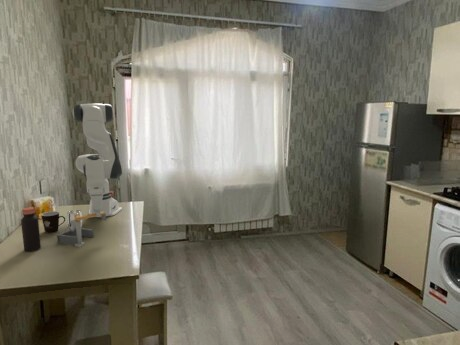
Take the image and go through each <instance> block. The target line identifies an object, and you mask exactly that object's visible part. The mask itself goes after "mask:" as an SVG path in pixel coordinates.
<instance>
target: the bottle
mask: <svg viewBox="0 0 460 345" xmlns="http://www.w3.org/2000/svg"><path fill="white" fill-rule="evenodd" d="M21 211H22V216H23V217H22V218H21V219H20V222H21V233H22V241H23V242H22V243H23V251H24V252H27V253H28V252H29V253H30V252H31V253H32V252H36V251H38V250H40V249H41V248H42V244H41V236H40V225H39V224H40V223H39V218H38V216H36V209H35V207H33V206H29V207H23V208H22V209H21Z"/></svg>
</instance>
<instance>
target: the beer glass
mask: <svg viewBox="0 0 460 345" xmlns="http://www.w3.org/2000/svg"><path fill="white" fill-rule="evenodd" d="M77 216H80V217H81V216H83V213H82V210H80V209H72V210H68V211H67V212H66V223H67V227H68V230H69V231H70V236H77V230H76V221H75V217H77ZM80 222H81V235H82V228H83V220H81V221H80ZM83 239H84V237H83V236H82V240H83Z"/></svg>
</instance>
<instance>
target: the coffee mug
mask: <svg viewBox="0 0 460 345" xmlns="http://www.w3.org/2000/svg"><path fill="white" fill-rule="evenodd" d="M40 217H41V220H42V224H43V228H44V233H45V234H54V233H56V232H58V231H59V227H60V226H61V225H63V224H64V223H65V221H66V217H65V216H64V215H60V211H58V210H57V211H56V210H55V211H54V210H53V211H46V212H45V211H44V212H43V213H41V214H40ZM60 218H63V221H62V222H61V223H60Z"/></svg>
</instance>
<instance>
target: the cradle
mask: <svg viewBox="0 0 460 345" xmlns="http://www.w3.org/2000/svg"><path fill="white" fill-rule="evenodd" d="M76 230H77V236H70V231H69V229H68V230H65V231H63V232H61V233H59V234H57V235H56V237H57V238H56V239H57V244H64V245H71V246H72V245H73V246H74V247H81V248H82V246H84V245H86V242H84V241H83V239H82V237H83V238H84V237H86V238H94V237H95V230H94V229H93V228H83V227H82V235H81V222H80V221H76Z"/></svg>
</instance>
